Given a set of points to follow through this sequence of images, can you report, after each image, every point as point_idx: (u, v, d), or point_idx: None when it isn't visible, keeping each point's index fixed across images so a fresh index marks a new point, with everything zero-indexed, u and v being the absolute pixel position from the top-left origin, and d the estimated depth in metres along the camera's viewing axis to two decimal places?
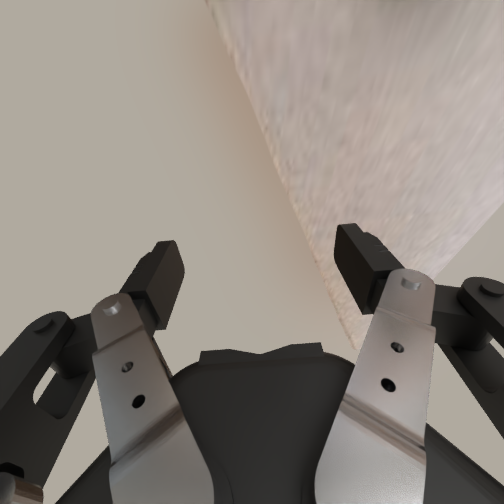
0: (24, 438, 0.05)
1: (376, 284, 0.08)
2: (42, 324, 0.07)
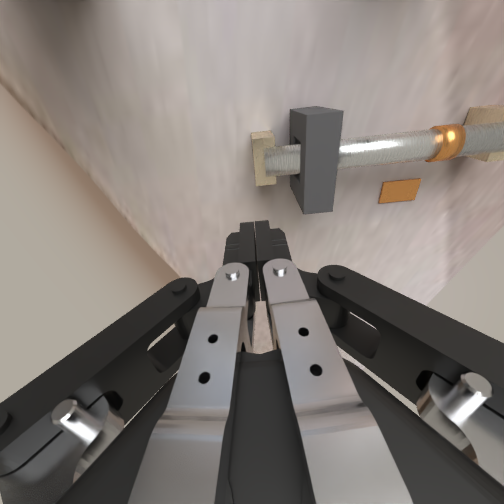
0: (131, 378, 0.06)
1: (262, 272, 0.09)
2: (178, 287, 0.08)
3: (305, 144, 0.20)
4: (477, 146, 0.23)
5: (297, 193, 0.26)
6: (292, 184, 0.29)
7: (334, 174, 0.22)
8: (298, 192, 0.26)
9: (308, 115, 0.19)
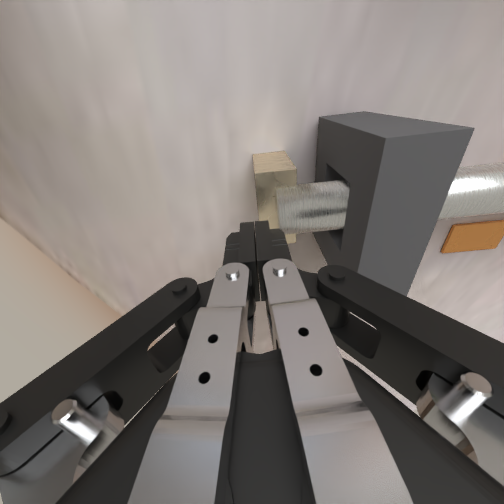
0: (131, 378, 0.06)
1: (262, 272, 0.09)
2: (178, 287, 0.08)
3: (370, 197, 0.09)
4: None
5: (331, 259, 0.16)
6: (318, 234, 0.19)
7: (420, 250, 0.11)
8: (335, 261, 0.15)
9: (388, 138, 0.08)
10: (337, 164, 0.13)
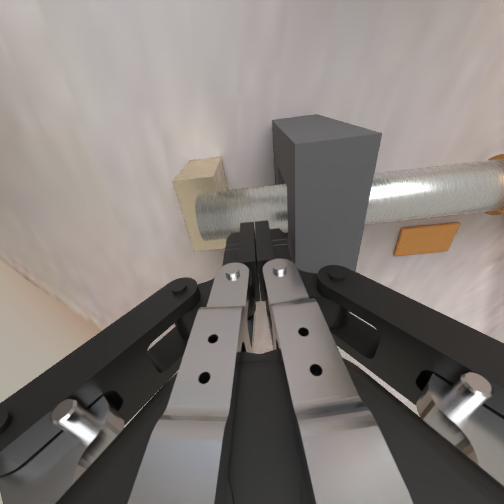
0: (131, 378, 0.06)
1: (262, 273, 0.09)
2: (178, 287, 0.08)
3: (294, 202, 0.10)
4: None
5: None
6: None
7: (354, 254, 0.11)
8: None
9: (299, 144, 0.08)
10: (281, 168, 0.13)
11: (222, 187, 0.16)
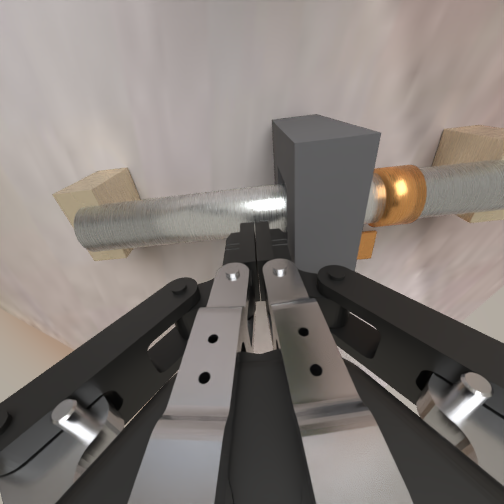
0: (131, 378, 0.06)
1: (262, 273, 0.09)
2: (178, 287, 0.08)
3: (294, 201, 0.10)
4: (450, 206, 0.13)
5: None
6: None
7: (353, 253, 0.11)
8: None
9: (298, 143, 0.08)
10: (281, 167, 0.13)
11: (123, 198, 0.17)
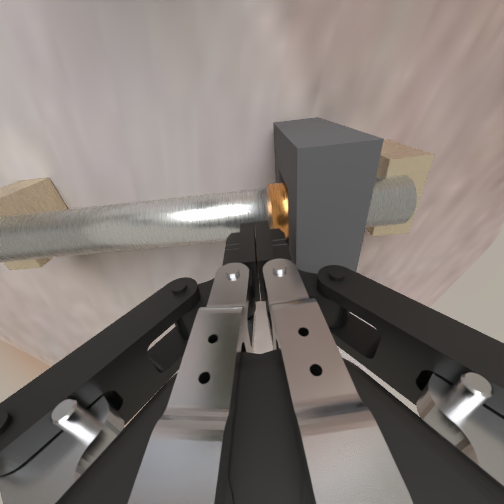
0: (131, 377, 0.06)
1: (262, 273, 0.09)
2: (178, 287, 0.08)
3: (296, 205, 0.10)
4: None
5: None
6: None
7: (354, 258, 0.11)
8: None
9: (301, 149, 0.08)
10: (282, 171, 0.13)
11: (40, 208, 0.17)
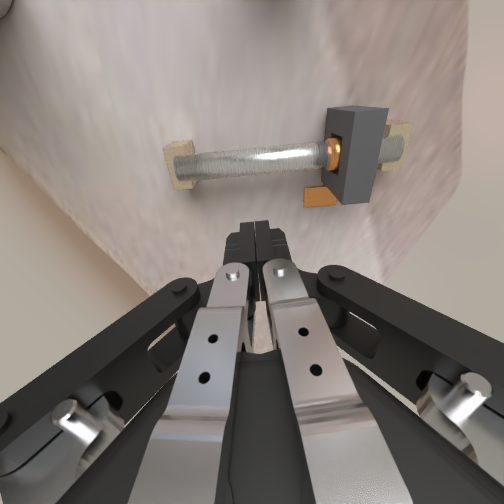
0: (131, 378, 0.06)
1: (262, 273, 0.09)
2: (178, 287, 0.08)
3: (350, 138, 0.22)
4: None
5: (333, 186, 0.28)
6: (325, 178, 0.31)
7: (374, 167, 0.23)
8: (335, 185, 0.27)
9: (356, 112, 0.21)
10: (336, 130, 0.26)
11: None
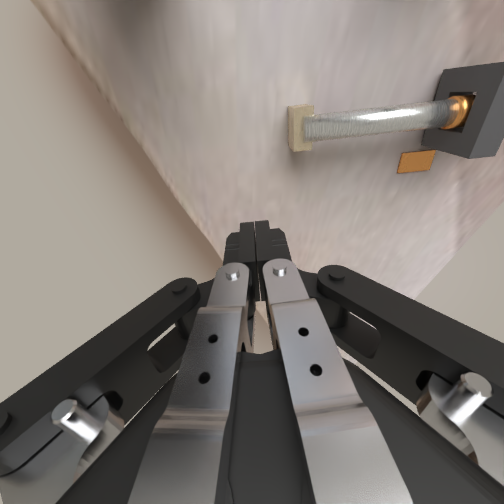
0: (131, 378, 0.06)
1: (262, 273, 0.09)
2: (178, 287, 0.08)
3: (495, 89, 0.23)
4: None
5: (449, 144, 0.29)
6: (431, 141, 0.33)
7: None
8: (454, 142, 0.29)
9: None
10: (464, 87, 0.27)
11: None
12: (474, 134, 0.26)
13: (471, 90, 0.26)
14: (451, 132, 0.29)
